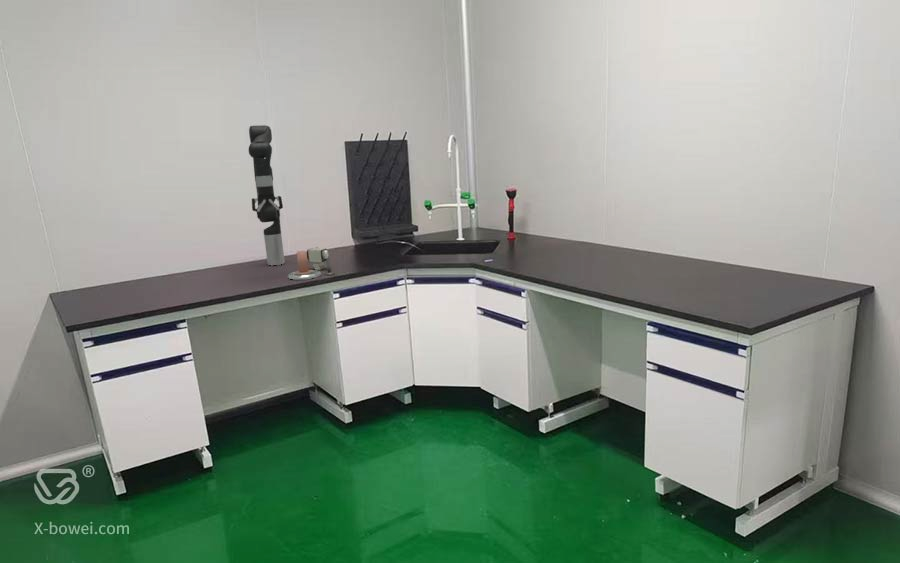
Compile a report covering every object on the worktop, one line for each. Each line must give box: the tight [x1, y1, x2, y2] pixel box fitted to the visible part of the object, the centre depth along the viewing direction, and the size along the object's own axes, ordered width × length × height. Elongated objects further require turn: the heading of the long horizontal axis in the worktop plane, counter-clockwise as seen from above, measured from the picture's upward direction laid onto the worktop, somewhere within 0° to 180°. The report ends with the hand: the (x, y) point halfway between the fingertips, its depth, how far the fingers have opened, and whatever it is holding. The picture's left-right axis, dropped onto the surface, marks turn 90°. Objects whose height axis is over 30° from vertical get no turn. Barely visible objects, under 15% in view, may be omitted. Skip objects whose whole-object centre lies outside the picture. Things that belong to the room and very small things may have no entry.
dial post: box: [322, 249, 335, 276], centre depth 291 cm, size 4×4×13 cm
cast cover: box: [295, 250, 313, 275], centre depth 288 cm, size 8×8×11 cm
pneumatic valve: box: [306, 246, 328, 271], centre depth 303 cm, size 6×12×12 cm, turn 69°
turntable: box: [287, 269, 322, 281], centre depth 290 cm, size 16×16×2 cm
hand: (269, 218), depth 282 cm, fingers open, 8 cm apart
